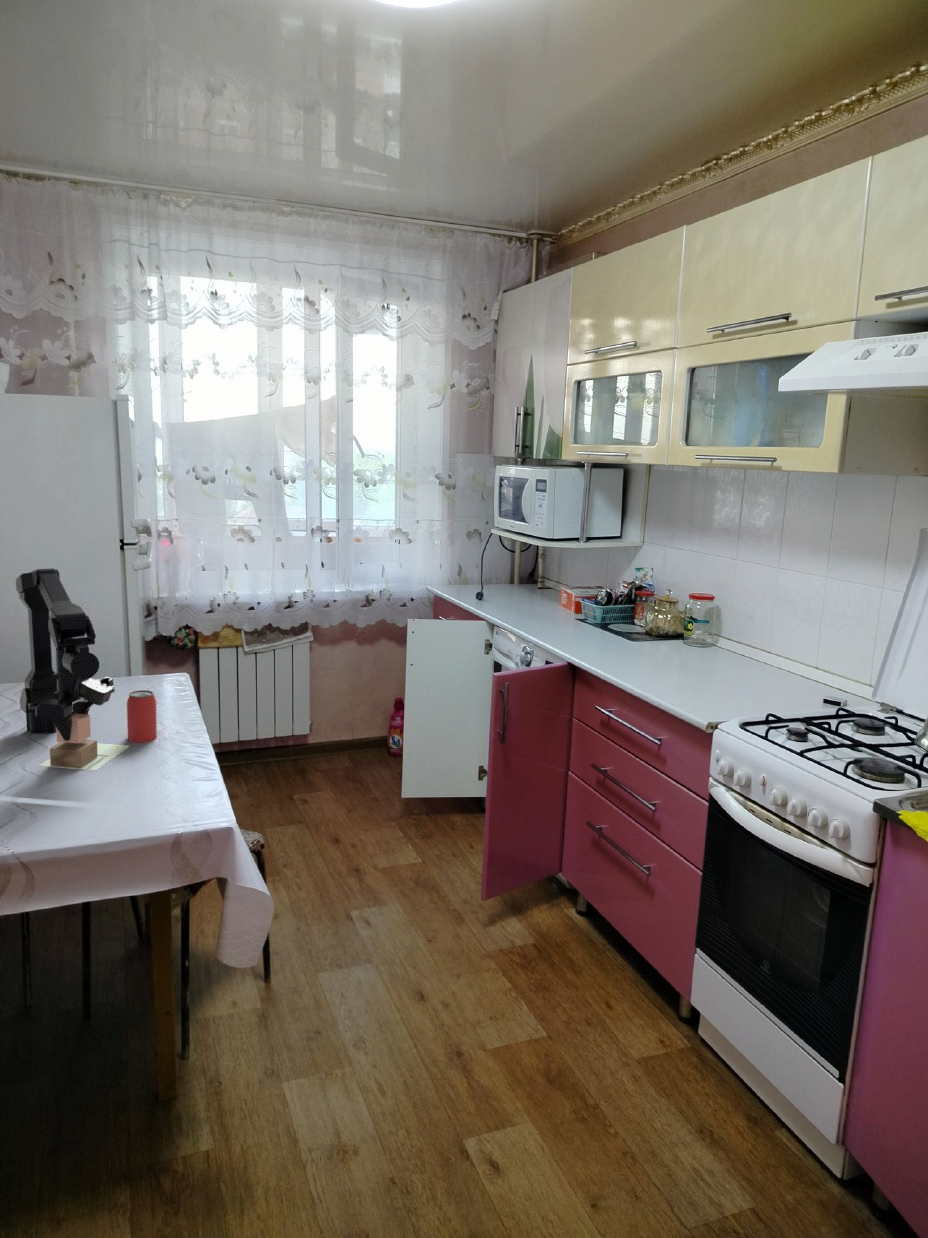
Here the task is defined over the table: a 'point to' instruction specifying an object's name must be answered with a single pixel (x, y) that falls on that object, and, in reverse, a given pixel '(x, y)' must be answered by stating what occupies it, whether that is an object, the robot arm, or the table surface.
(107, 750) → the cream mat
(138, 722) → the beer can
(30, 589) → the robot arm
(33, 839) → the table surface
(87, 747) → the base block
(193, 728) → the table surface
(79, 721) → the cube
